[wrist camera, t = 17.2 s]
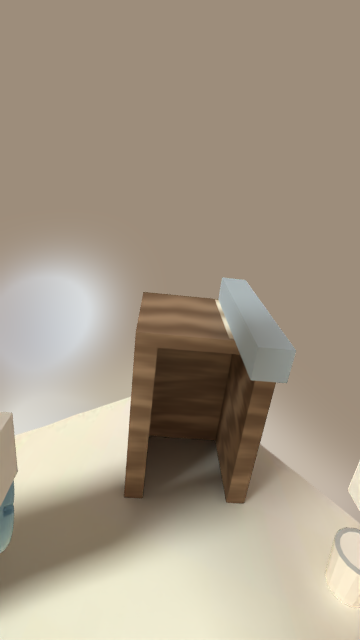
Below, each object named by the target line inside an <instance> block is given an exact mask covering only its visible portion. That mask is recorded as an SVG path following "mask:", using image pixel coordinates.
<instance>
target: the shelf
mask: <svg viewBox="0 0 360 640" xmlns="http://www.w3.org/2000/svg"><path fill="white" fill-rule="evenodd" d="M133 366H134V367H133V380H132V394H131V407H130V421H129V435H128V449H127V463H126V477H125V491H124V497H128V498H143V488H144V478H145V468H146V458H147V448H148V438H149V436H157V437H172V438H187V439H203V440H215V442H216V448H217V453H218V459H219V465H220V470H221V476H222V481H223V487H224V492H225V498H226V502H227V503H244V501H245V497H246V493H247V490H248V486H249V482H250V478H251V475H252V471H253V467H254V463H255V459H256V456H257V452H258V448H259V444H260V441H261V436H262V433H263V429H264V425H265V422H266V418H267V414H268V410H269V407H270V403H271V399H272V395H273V391H274V388H275V384H276V382H266V381H254V380H250V377H249V375H248V372H247V370H246V367H245V365H244V362H243V360H242V357H241V355H240V352H239V350H238V347H237V345H236V342H235V340H234V337H233V335H232V332H231V330H230V327H229V325H228V322H227V320H226V317H225V315H224V312H223V310H222V307H221V305H220V302H219V299H210V298H199V297H189V296H178V295H168V294H158V293H148V292H143V298H142V303H141V308H140V313H139V318H138V324H137V329H136V338H135V352H134V365H133Z"/></svg>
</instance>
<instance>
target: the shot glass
mask: <svg viewBox="0 0 360 640" xmlns="http://www.w3.org/2000/svg"><path fill="white" fill-rule="evenodd" d="M325 579H326V582H327V585H328V587H329V589H330V590H331V592H332V593H333V595H334V596H335V597H336V598H337V599H339V600H340V601H341V602H342V603H344V604H346V605H348V606H350V607H355V608H360V530H358V529H356V528H347V527H346V528H343V529H341V530H339V531H338V532H337V534H336V535H335V538H334V542H333V545H332V549H331V553H330V556H329V560H328V564H327V567H326V572H325Z"/></svg>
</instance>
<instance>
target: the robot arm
mask: <svg viewBox="0 0 360 640" xmlns="http://www.w3.org/2000/svg"><path fill="white" fill-rule="evenodd" d="M17 472H18V469H17V458H16V448H15V437H14V426H13V415H12V413H7V412H0V553H1V552H3V551H4V550H5V549H6V547H7V546H8V544H9V542H10V540H11V537H12V532H13V524H14V506H13V502H14V478H15V476H16V474H17ZM348 491H349V493H350V495H351V497H352V498H353V500H354V502H355V504H356V506H357V507H358V509H359V511H360V461H359V464H358V466H357V469H356V471H355V473H354V476H353V478H352V480H351V483H350V485H349V487H348Z"/></svg>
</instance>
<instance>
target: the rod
mask: <svg viewBox="0 0 360 640" xmlns="http://www.w3.org/2000/svg"><path fill="white" fill-rule="evenodd" d="M219 302H220V305H221V307H222V310H223V312H224V315H225V317H226V320H227V322H228V325H229V327H230V330H231V332H232V335H233V337H234V340H235V342H236V345H237V347H238V350H239V352H240V355H241V357H242V360H243V362H244V365H245V367H246V370H247V372H248V375H249V377H250V380H254V381H266V382H279V383H287V381H288V377H289V374H290V370H291V367H292V363H293V360H294V356H295V353H296V350H295V348H294V347H293V346H292V344H291V343H290V341H289V340H288V339H287V337H286V336H285V334H284V333H283V332H282V330H281V329H280V328H279V326H278V325H277V323H276V322H275V321H274V319H273V318H272V316H271V315H270V314H269V312H268V311H267V309H266V308H265V307H264V305H263V304H262V303H261V301H260V300H259V298H258V297H257V295H256V294H255V293H254V292H253V290H252V289H251V287H250V286H249V284H248V283H247V282H246V280H240V279H230V278H222V282H221V288H220V295H219Z"/></svg>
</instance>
